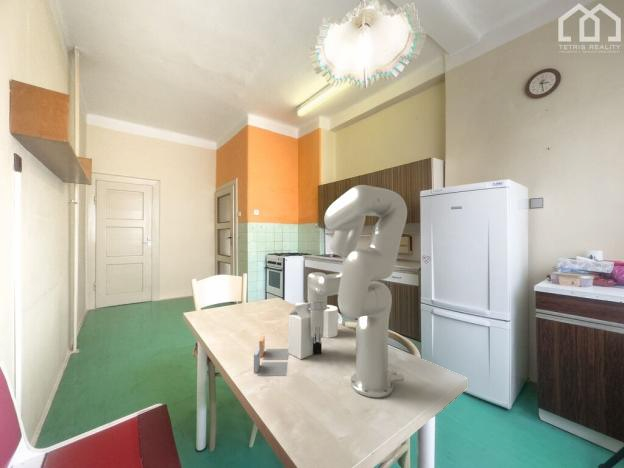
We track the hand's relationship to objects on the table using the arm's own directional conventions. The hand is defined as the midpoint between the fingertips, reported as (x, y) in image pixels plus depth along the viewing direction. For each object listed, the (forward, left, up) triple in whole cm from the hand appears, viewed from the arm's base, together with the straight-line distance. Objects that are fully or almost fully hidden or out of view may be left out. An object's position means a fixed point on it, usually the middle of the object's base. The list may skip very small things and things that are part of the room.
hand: (317, 352), depth 101 cm
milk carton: (+6, 0, -1) cm, 6 cm away
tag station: (+16, +5, -1) cm, 16 cm away
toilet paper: (-5, -21, -1) cm, 21 cm away
